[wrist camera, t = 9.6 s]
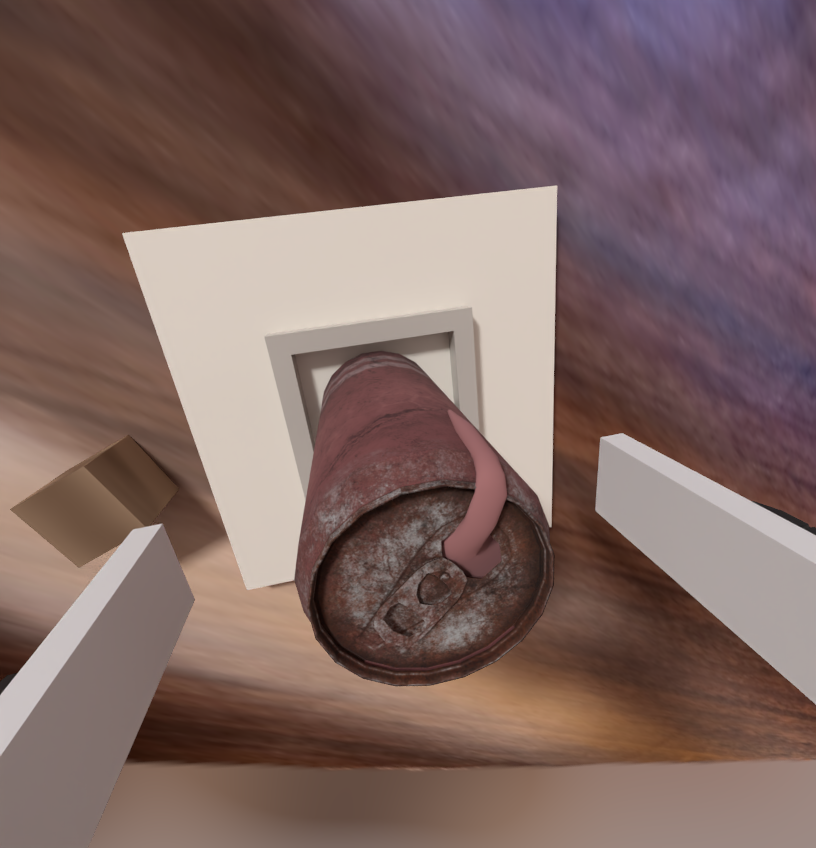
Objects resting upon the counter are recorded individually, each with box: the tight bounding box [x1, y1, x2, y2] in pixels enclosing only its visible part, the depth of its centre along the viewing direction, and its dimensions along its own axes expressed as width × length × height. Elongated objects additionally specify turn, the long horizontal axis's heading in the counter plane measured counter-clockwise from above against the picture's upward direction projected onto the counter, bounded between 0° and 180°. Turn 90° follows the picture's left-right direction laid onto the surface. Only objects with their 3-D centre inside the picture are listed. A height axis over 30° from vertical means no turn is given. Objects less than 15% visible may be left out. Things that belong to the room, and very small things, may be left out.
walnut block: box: [10, 435, 179, 567], centre depth 20 cm, size 4×4×4 cm
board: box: [122, 186, 557, 590], centre depth 21 cm, size 20×20×3 cm
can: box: [294, 351, 554, 686], centre depth 15 cm, size 6×6×14 cm
